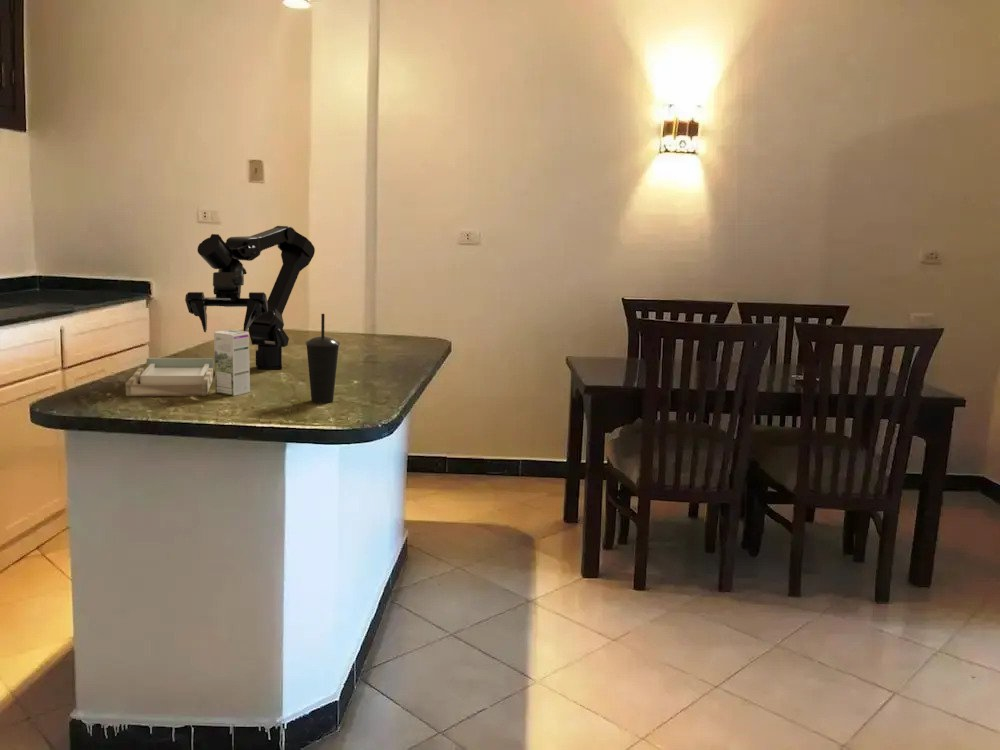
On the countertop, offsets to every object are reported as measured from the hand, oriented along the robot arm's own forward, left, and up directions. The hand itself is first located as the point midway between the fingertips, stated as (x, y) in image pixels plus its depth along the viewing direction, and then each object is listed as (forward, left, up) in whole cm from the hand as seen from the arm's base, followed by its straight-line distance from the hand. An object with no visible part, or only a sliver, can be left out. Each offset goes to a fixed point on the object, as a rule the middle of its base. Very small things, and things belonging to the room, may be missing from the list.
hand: (224, 331), depth 197 cm
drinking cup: (-22, +19, -14) cm, 32 cm away
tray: (+12, -7, -13) cm, 19 cm away
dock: (+12, +2, -13) cm, 18 cm away
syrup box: (-2, +9, -14) cm, 16 cm away
